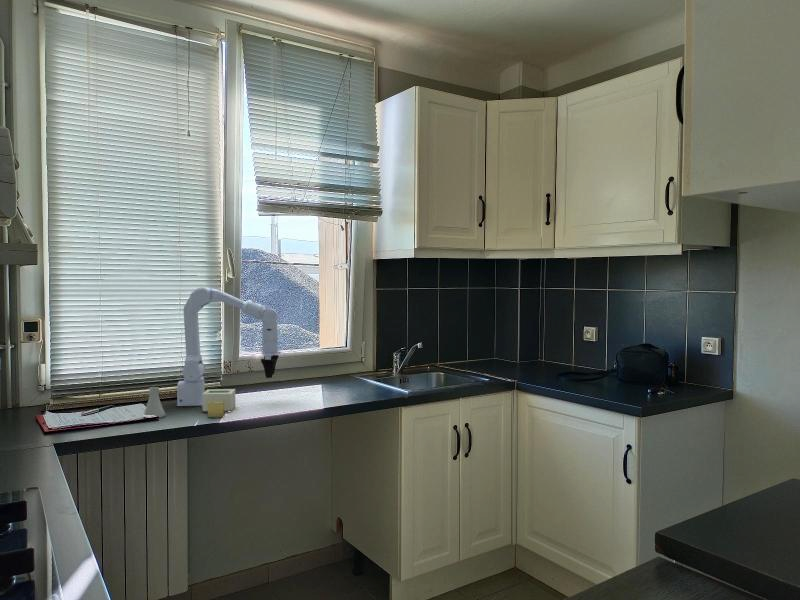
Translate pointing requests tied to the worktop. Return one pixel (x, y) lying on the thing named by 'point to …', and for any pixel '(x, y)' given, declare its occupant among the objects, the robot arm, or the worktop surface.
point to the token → (215, 409)
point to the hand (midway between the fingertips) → (270, 375)
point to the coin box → (219, 398)
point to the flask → (154, 404)
